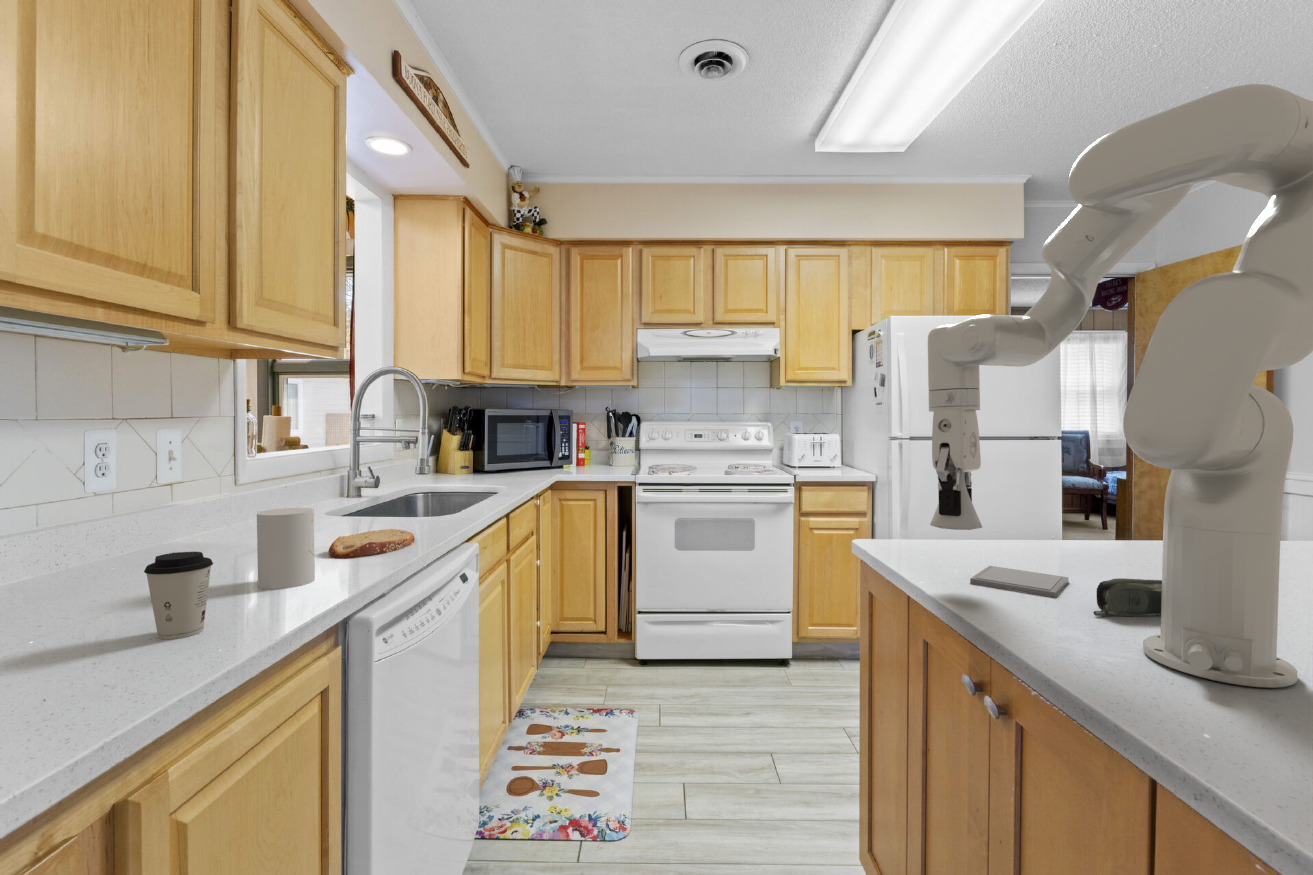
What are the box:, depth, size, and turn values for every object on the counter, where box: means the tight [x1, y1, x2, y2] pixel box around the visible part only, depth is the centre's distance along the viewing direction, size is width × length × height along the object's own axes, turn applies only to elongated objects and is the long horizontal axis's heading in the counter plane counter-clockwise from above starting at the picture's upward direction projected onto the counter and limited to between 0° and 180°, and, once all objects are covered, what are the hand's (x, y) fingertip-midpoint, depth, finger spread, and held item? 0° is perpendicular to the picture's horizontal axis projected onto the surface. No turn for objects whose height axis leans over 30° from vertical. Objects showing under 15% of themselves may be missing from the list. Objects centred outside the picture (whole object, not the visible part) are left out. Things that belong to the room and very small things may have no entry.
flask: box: [930, 467, 983, 531], centre depth 98 cm, size 7×7×10 cm
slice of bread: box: [328, 528, 416, 560], centre depth 129 cm, size 18×18×4 cm
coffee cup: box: [143, 551, 214, 640], centre depth 77 cm, size 7×7×10 cm
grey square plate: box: [969, 565, 1069, 598], centre depth 101 cm, size 12×12×1 cm
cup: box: [256, 507, 316, 590], centre depth 101 cm, size 8×8×12 cm
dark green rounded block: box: [1092, 577, 1162, 617], centre depth 85 cm, size 5×3×15 cm
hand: (955, 512), depth 98 cm, fingers closed on flask, 5 cm apart
